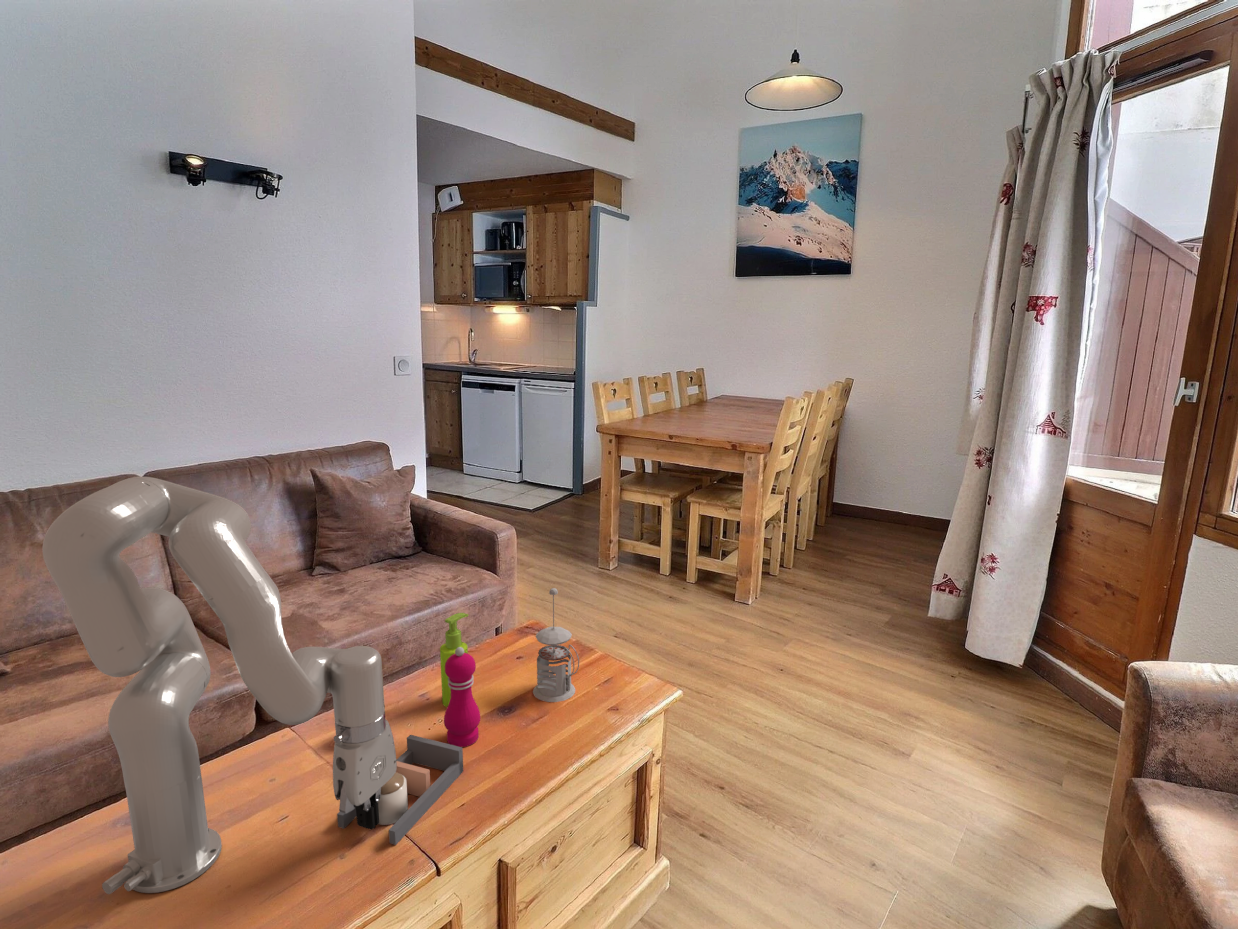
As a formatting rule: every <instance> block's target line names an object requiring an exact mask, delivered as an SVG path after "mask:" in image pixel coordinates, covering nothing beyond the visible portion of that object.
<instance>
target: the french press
mask: <svg viewBox="0 0 1238 929" xmlns="http://www.w3.org/2000/svg"><path fill="white" fill-rule="evenodd" d="M548 594H549V595H551V596H552V626H548V627H546V628H542V629H541V630H540V631H538V632H537V633H536V634H535V639H536V640H537V642H539V643H541V644H543V645H545V646H543V647H541V648H540V649H539V650H538V651H537V654H538V655H537V658H536V674H537V675H536V679H537V680H536V685H535V687H534V688H533V689H532V690H533V691H532V693H533V696H534V697H535V698H536V699H538V700H540V701H543V702H547V703H549V702H550V703H558V702H565V701H566V700H568V699H570V698H572V697H573V696H574V695H575V693H576V688H575V686H574V684H572V676H573V675H575V674H576V673H578V670H579V669H580V668H579V667H580V657H579V654H578V652H577V650H576V649H575V647H574V646H573V645H572V644H569V645H568V647H567V646H564V645H562V644H565V643H568V641H570V640H571V639H572V634H573V633H571V631H570V630H569V629H565V628H564V627H562V626H555V596H556V595H558V589H557V588H555V587H554V588H553V587H552V588H551V589H550V590H549V593H548ZM570 648H572V649H573V650H574V652H575V654H576V657H577V661H578V662H577V669H576V671H575V660H574V657H573V655H572V652H571V650H570ZM566 658H568V659H566ZM561 663H564V664H561ZM566 663H567V664H566ZM557 664H558V665H557ZM559 664H560V665H559ZM551 665H552V666H551ZM553 665H554V666H553ZM572 666H573V668H572Z"/></svg>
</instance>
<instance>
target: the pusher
mask: <svg viewBox="0 0 1238 929" xmlns="http://www.w3.org/2000/svg"><path fill="white" fill-rule="evenodd" d="M396 772H397V773H400V774H402V775H403V776H404V777H405V778H406V782H407V795H408V794H409V795H413V796H415V797H418V798H420V797H421V796H422V795H423V794H424V792H425V791H426V790H427V789H428V788H429V787H430V786H431V775H430V774H431V770H430V769H428V768H424V767H421V766H417V765H413V764H411V765H410V764H406V763H402V762H399V761H397V769H396Z"/></svg>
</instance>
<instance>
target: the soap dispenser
mask: <svg viewBox="0 0 1238 929" xmlns="http://www.w3.org/2000/svg"><path fill="white" fill-rule="evenodd" d="M468 617H469V614H468V613H465V612H457V613H455V614H452V615H451V616H448V617H447V618H445V619H444V623H446V624H448V630H447V631H445V633H444V634H445V643H443V644H442V645H440V647H439V654H440V655H439V656H440V658H439V659H440V678H441V680H440V681H441V696H442V697H441V701H442V706H444V707H445V708H447V707H448V705H449V702H450V698H451V688H450V687H449V686H448V678H449V677H448V676H447V675H446V673H445V664H446V661H447V659H448V658H449V657H450V656H452V655H453V654H455V650H456V649H457V648H458V647H462V648H463V649H464V653H467V654H469V651H468V650H469V649H468V644H467V643H466V642H464V641H462V631H461V630H460V629H458V627H457V626H458V624H457V623H458V621H459V620H461V619H464V618H468Z"/></svg>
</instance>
